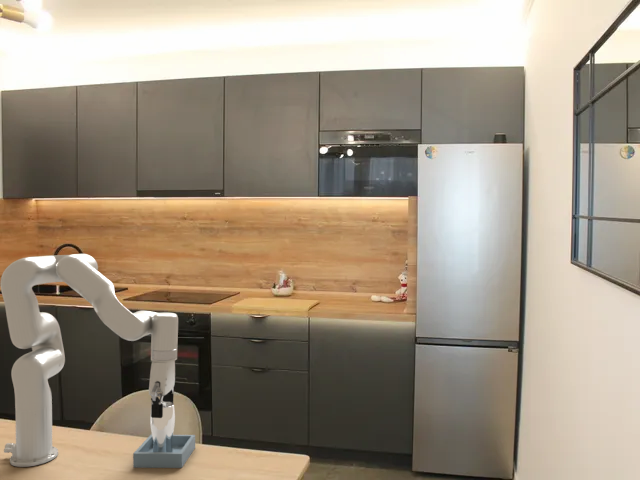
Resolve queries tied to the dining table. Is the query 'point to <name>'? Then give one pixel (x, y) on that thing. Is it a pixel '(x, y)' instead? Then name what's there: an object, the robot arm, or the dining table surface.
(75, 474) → the dining table surface
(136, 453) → the tray
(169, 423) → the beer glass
